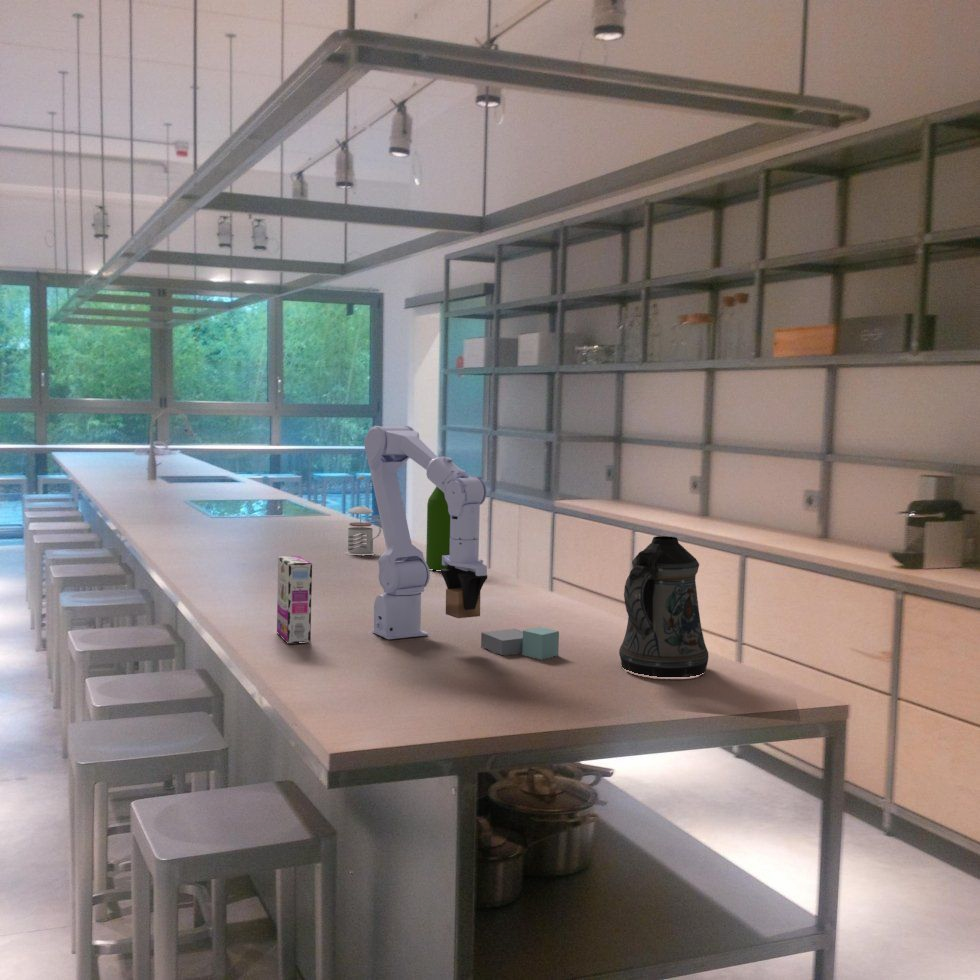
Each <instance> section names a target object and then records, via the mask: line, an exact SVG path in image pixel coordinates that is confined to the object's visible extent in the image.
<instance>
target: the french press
mask: <svg viewBox="0 0 980 980" xmlns="http://www.w3.org/2000/svg"><path fill="white" fill-rule="evenodd" d="M357 480H358V481H359V480H360V481H363V480H365V477H364V476H363V475H359V476H358V478H357ZM359 499H360V505H358V506H354V507H352V508H350V509H348V510H347V513H348V514H352V515H359V519H360V520H359V522H350V523H349V524H348V525H349V526H351V527H348V529H347V530H348V531H347V532H348V534H347V551H345V553H350V554H373V553H375V551H374V540H375V539H377V538H378V537H379V536H380V534H381V533H382V524H381V520H380V518H378V517H377V516H376V515H372V514H373V513H374V510H373V509H371V508H370V507H367V506H363V505H362V498H359ZM362 515H372V516H371V519H370V521H373V520H374V519H375V520H376V521H377V522H378V525H379V530H378V532H377V535H376V536H375V537H373V532H374V531H373V528H372V523H371V522H362ZM370 526H371V527H370ZM365 543H366V544H365Z"/></svg>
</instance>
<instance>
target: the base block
mask: <svg viewBox="0 0 980 980" xmlns="http://www.w3.org/2000/svg"><path fill="white" fill-rule="evenodd" d="M480 635H481V637H480V647H481V648H482V647H483V648H482V649H485V648H486V649H485V650H487V649H488V651H489V650H490V652H492V651H493V652H492V653H494V652H495V654H497V653H498V654H497V655H499V654H500V655H499V656H501V655H504V656H510V654H512V655H519V654H518V653H520V654H522V648H523V631H522V630H520V629H517V628H510V629H501V630H500V629H499V630H491V631H481V634H480Z"/></svg>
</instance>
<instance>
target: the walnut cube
mask: <svg viewBox="0 0 980 980" xmlns="http://www.w3.org/2000/svg"><path fill="white" fill-rule="evenodd" d="M445 615H447V616H451V617H453V618H456V619H467V618H473V617H474V618H477V617H481V592H480V593H479V597H478V600H477V604H476V607H475V609H471V610H465V609H464V604H463V591H462V588H455V589H447V588H446V589H445Z"/></svg>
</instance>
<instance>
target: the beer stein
mask: <svg viewBox="0 0 980 980" xmlns="http://www.w3.org/2000/svg"><path fill="white" fill-rule="evenodd" d="M631 565H632V568H631V570H630V572H629V575H628V576H627V579H626V580H625V584H624V591H623V598H624V605H625V609H626V612H627V617H628V618H627V623H626V624H627V625H626V630H625V635H624V636H623V637H624V639H622V640H623V641H622V643H621V645H620V647H619V652H618V654H619V658H620V663H621V665H622V666H621V668H622V667H623V668H624V669H626V670H629V671H632V672H634V673H638V674H644V675H649V676H657V677H690V676H696V675H700V674H702V673H704V672H705V673H706V670H707V666H708V661H709V651H708V648H707V645H706V643H705V639H704V633H703V629H702V623H701V616H700V609H699V600H698V592H697V584H696V576H697V574H698V572H699V567H700V563H699V561H698V560H697V558H696V557H695V556H694V555H693V554H692V553H690V552H689V551H688V550H687V549H686V548H685V547H684V546H683V545H682V544H681V543H680V542H679V539H678V537H676V536H664V535H663V536H661V535H660V536H659V535H658V536H657V535H656V536H653V537H652V540H651V542H650V543H649V544H648V545H647V546H646V547H645V548H644V549H643V550H640V551H639V552H638V554H637V555H635V557H634V558H633V559H632V561H631Z"/></svg>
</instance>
